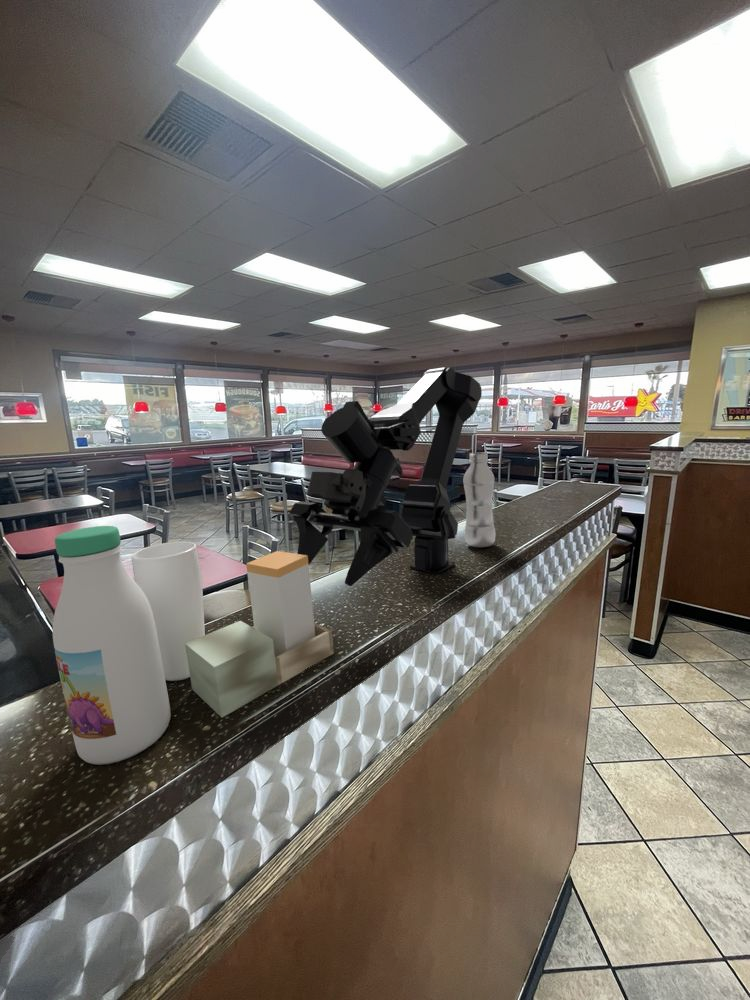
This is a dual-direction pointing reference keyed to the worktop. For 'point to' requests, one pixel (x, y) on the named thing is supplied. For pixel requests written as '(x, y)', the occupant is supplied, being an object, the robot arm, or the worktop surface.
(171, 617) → the drinking glass
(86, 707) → the milk bottle
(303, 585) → the orange-topped white pillar
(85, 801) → the worktop surface
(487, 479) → the plastic bottle
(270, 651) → the open wooden box
